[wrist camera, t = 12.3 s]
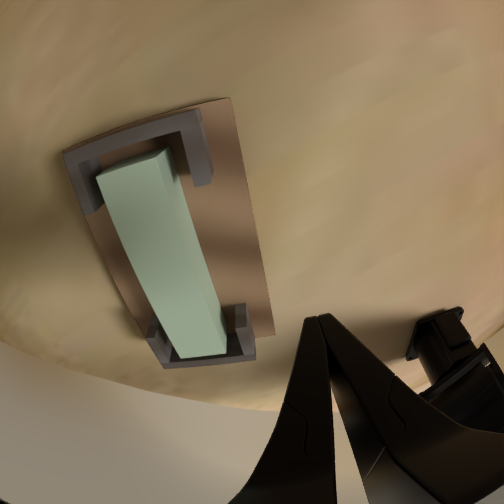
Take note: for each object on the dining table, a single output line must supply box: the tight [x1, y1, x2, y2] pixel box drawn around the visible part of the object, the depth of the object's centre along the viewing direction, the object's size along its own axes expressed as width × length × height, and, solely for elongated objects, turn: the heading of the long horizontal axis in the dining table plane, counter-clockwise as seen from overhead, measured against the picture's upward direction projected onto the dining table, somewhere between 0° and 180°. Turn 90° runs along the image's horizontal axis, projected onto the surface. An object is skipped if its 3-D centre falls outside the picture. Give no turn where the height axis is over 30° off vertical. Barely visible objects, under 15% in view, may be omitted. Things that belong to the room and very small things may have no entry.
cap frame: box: [62, 98, 275, 369], centre depth 19 cm, size 18×11×4 cm, turn 10°
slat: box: [96, 146, 227, 358], centre depth 18 cm, size 14×4×3 cm, turn 11°
